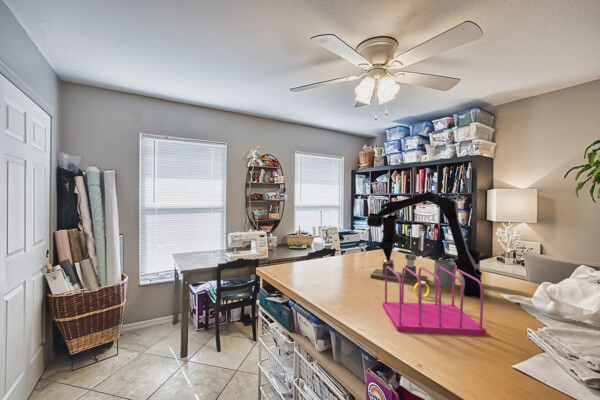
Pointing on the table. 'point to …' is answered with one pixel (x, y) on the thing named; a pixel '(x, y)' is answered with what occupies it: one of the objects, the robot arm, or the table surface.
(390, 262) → the terracotta plunger
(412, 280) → the dark brown stand
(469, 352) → the table surface
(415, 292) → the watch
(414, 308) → the file sorter
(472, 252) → the glass holder
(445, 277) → the cup
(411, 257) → the olive plunger
